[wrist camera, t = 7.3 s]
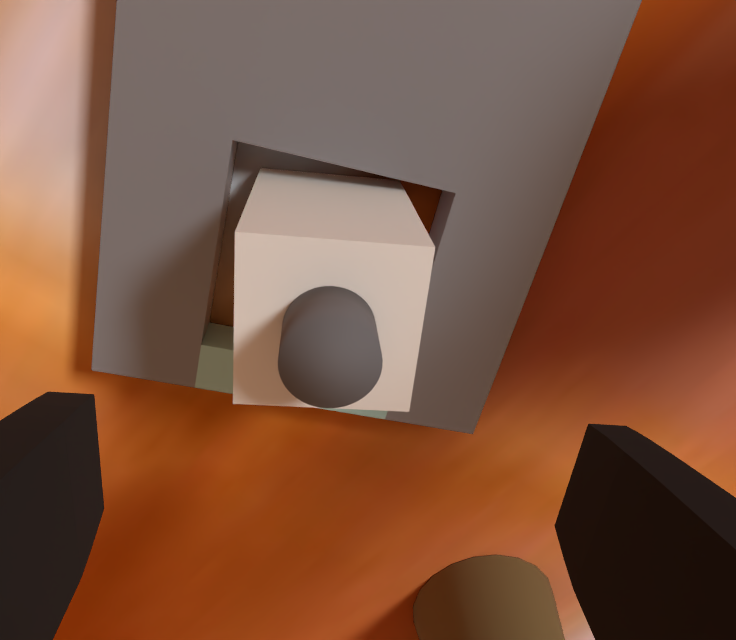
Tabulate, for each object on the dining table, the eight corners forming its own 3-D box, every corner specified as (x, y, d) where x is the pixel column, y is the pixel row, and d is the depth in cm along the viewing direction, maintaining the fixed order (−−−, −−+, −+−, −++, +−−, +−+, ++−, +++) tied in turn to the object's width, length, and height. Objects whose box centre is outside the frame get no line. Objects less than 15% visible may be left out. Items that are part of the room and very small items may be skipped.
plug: (399, 180, 18) (449, 274, 11) (383, 304, 19) (418, 452, 13) (260, 167, 17) (223, 258, 11) (256, 296, 19) (223, 445, 12)
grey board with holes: (821, -552, 12) (885, -626, 11) (463, 408, 21) (473, 434, 20) (204, -869, 10) (185, -1011, 9) (107, 346, 19) (91, 370, 18)
